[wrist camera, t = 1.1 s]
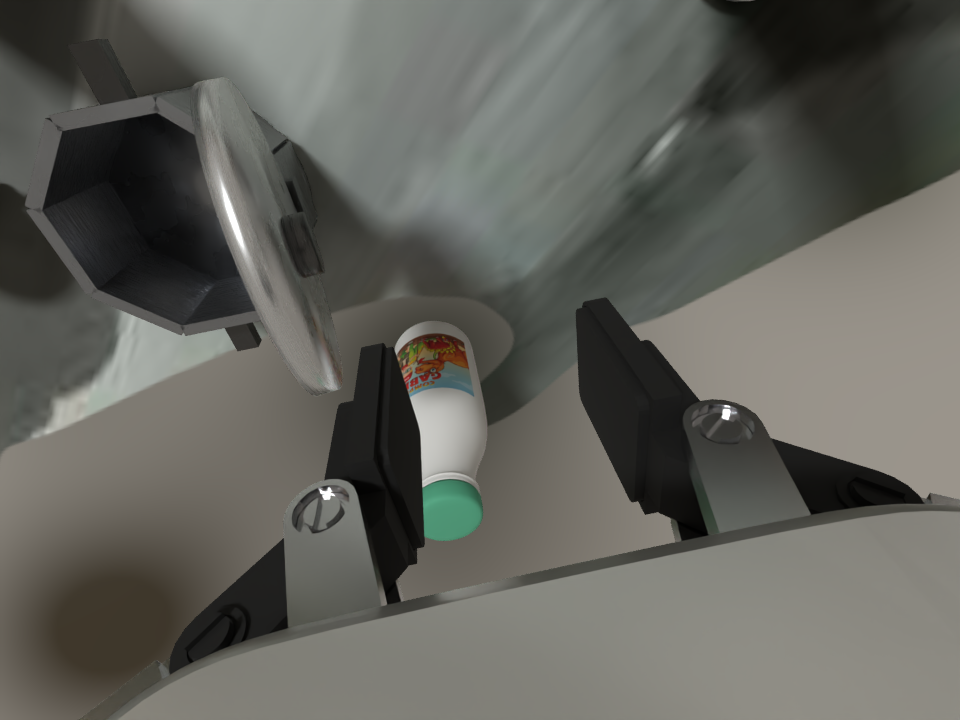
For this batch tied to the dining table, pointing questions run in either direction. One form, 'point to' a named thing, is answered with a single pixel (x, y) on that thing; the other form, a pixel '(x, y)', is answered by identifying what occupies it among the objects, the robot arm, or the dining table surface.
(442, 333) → the milk bottle
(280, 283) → the lid
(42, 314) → the dining table surface
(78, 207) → the pot
